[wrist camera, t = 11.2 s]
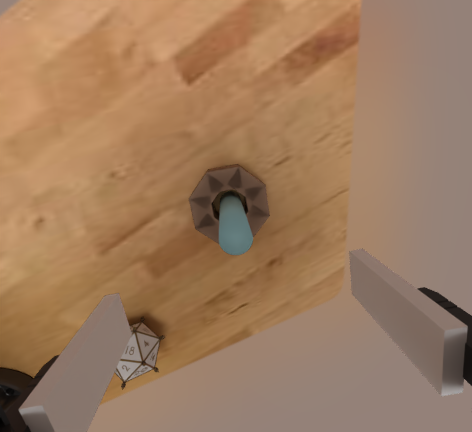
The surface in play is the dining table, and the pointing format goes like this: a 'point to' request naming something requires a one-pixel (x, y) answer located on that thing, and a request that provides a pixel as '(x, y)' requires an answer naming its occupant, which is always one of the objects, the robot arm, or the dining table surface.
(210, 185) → the bead
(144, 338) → the game die
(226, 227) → the teal rounded stick
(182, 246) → the dining table surface
